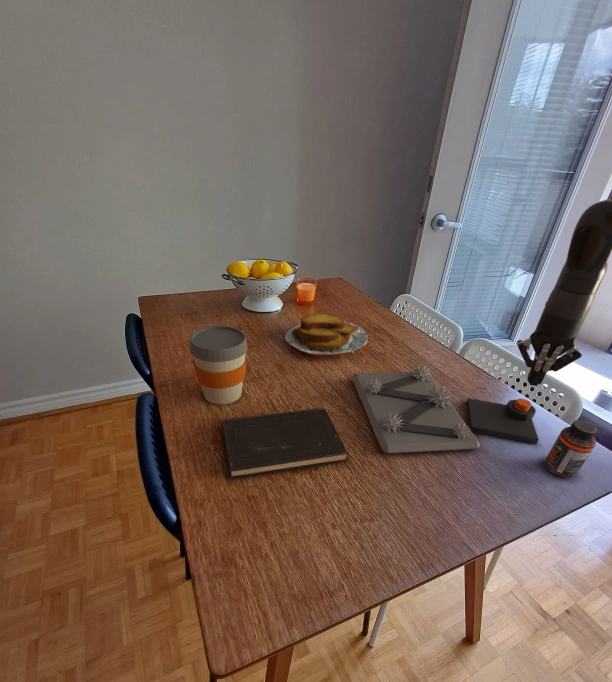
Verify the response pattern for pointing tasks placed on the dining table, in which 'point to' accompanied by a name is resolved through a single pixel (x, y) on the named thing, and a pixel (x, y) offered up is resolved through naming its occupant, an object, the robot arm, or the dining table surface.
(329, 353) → the food on plate
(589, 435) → the supplement bottle
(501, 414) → the kitchen scale
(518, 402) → the button
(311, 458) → the hardcover book
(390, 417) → the grey spiked board
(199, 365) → the reusable coffee cup
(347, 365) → the dining table surface
